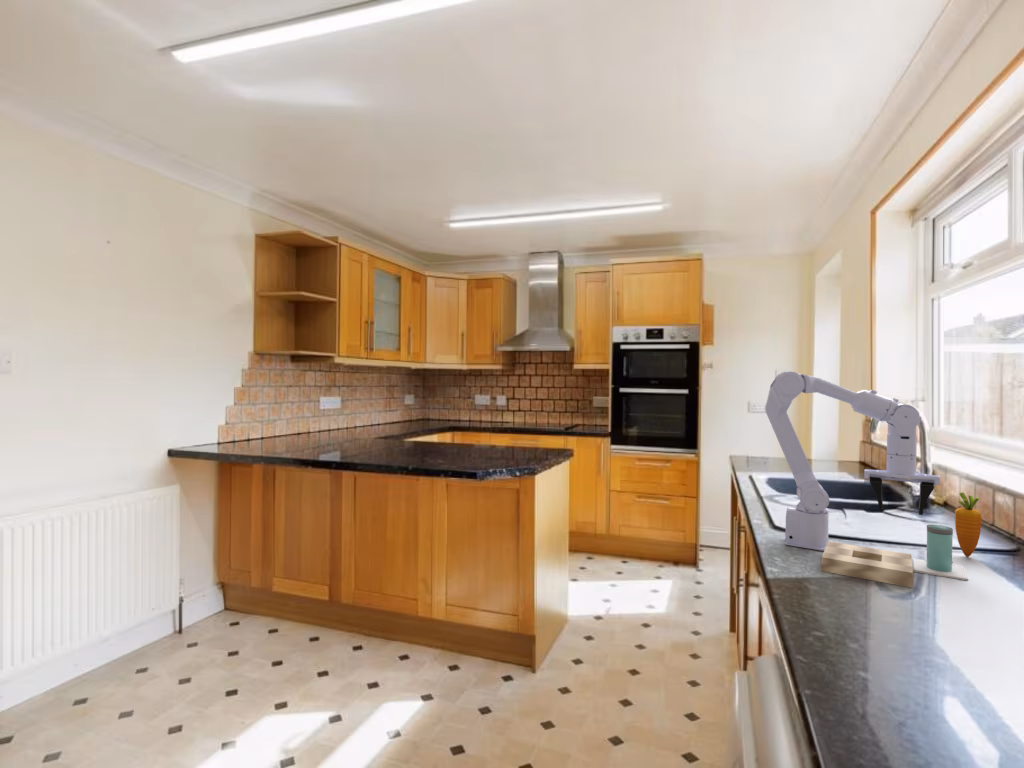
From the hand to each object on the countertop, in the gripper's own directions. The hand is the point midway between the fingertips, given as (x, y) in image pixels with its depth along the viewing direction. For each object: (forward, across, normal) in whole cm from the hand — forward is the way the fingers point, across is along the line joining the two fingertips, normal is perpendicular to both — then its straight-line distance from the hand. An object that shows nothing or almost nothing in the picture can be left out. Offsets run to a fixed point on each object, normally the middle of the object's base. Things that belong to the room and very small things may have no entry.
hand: (900, 511), depth 129 cm
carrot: (+11, +13, +8) cm, 19 cm away
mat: (+10, +7, -7) cm, 14 cm away
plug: (+10, +7, -7) cm, 14 cm away
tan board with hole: (+10, -6, -16) cm, 20 cm away
